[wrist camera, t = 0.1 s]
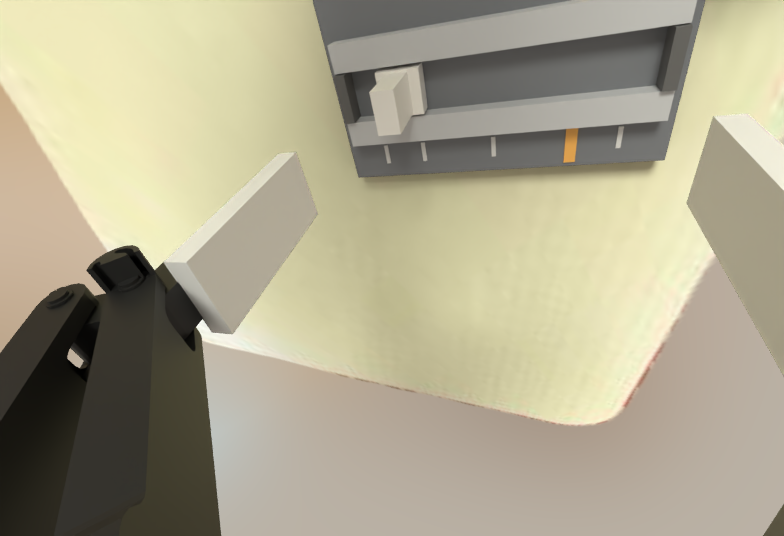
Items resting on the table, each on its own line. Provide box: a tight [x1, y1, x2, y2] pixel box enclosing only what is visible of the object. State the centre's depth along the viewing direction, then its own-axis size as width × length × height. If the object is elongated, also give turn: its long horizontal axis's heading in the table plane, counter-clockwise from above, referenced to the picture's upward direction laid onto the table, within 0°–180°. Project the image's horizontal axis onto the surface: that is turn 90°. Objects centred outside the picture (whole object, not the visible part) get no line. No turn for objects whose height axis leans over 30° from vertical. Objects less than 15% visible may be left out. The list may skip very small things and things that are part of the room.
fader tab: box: [369, 62, 428, 136], centre depth 35 cm, size 4×4×7 cm
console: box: [313, 0, 705, 177], centre depth 35 cm, size 18×30×4 cm, turn 101°
